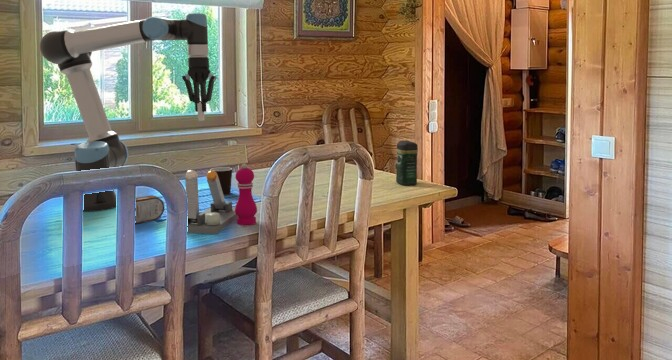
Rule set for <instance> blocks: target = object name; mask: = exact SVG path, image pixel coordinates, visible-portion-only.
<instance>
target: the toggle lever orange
mask: <svg viewBox="0 0 672 360" xmlns="http://www.w3.org/2000/svg"><path fill="white" fill-rule="evenodd" d="M206 181H207V184H208V187H209V191H210V194H211V197H212V201H213V202H214V204H215V208H216V210H219V211H225V204H226V203H227V201H226V199H225V195H223V191H222V188H221V185H220V181H219V178H218V175H217V173H216V172H215V171H211V170H209V171H208V172H207V173H206Z"/></svg>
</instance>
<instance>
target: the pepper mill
mask: <svg viewBox="0 0 672 360" xmlns="http://www.w3.org/2000/svg"><path fill="white" fill-rule="evenodd" d="M235 179H236V182H237V188H238V199H237V201H236V204H235V213H236V215H237V216H238V218H237V219H236V225H239V226H252V225H255V224H256V223H257V219H256V218H257V217H256V216H255V215H256V214H257V213H258V207H257V204H256V202H255V200H254V197H253V192H252V191H253V190H252V189H253V187H254V185H253V184H254V183H253V181H254V179H255V174H254V171H253V170H252V169H251V168H248V165H247V163H242V164H241V167H240V168H239V169H237V171H236V172H235Z"/></svg>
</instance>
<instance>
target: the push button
mask: <svg viewBox="0 0 672 360" xmlns="http://www.w3.org/2000/svg"><path fill="white" fill-rule="evenodd" d="M218 224H220V214H219V213H207V214H206V225H218Z"/></svg>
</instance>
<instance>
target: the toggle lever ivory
mask: <svg viewBox="0 0 672 360" xmlns="http://www.w3.org/2000/svg"><path fill="white" fill-rule="evenodd" d="M184 177H185V178H184V179H185V180H184V181H185V182H184V183H185V195H186V194H187V198H188V223H197V216H198V215H199V214H200V204H199V203H200V200H199V199H200V198H199V185H198V184H199V182H198V181H199V180H198V174H197V172H196V171H195V170H193V169H189V170H187V171H185V176H184Z"/></svg>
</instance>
